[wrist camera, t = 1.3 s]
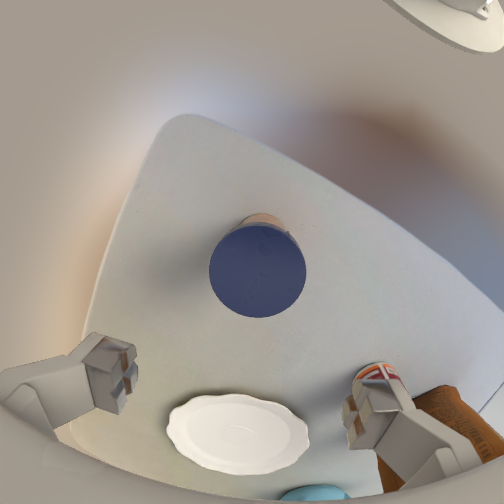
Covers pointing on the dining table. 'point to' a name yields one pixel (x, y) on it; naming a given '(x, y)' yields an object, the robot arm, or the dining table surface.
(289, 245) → the jar lid
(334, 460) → the dining table surface
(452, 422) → the pancake mix bag
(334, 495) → the teapot
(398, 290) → the dining table surface
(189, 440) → the plate
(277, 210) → the dining table surface
